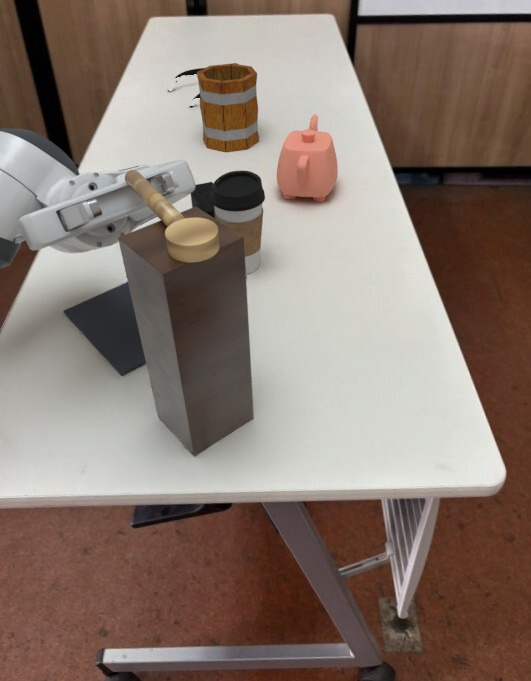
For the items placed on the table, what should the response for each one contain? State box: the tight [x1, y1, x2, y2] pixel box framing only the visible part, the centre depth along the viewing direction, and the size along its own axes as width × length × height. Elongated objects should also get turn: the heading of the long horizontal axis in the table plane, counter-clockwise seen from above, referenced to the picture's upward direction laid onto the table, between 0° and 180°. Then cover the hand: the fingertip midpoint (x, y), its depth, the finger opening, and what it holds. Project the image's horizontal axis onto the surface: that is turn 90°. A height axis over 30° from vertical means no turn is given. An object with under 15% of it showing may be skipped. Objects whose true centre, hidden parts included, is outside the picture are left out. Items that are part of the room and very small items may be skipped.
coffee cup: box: [211, 170, 266, 275], centre depth 91 cm, size 8×8×15 cm
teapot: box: [276, 114, 339, 202], centre depth 112 cm, size 20×12×12 cm, turn 170°
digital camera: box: [190, 181, 215, 218], centre depth 102 cm, size 10×5×7 cm, turn 21°
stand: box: [118, 207, 255, 457], centre depth 63 cm, size 8×9×26 cm
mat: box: [62, 281, 146, 377], centre depth 85 cm, size 18×12×1 cm, turn 40°
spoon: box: [125, 170, 220, 262], centre depth 56 cm, size 18×5×2 cm, turn 31°
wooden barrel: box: [196, 62, 260, 153], centre depth 132 cm, size 20×14×15 cm
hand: (133, 194), depth 58 cm, fingers open, 8 cm apart
